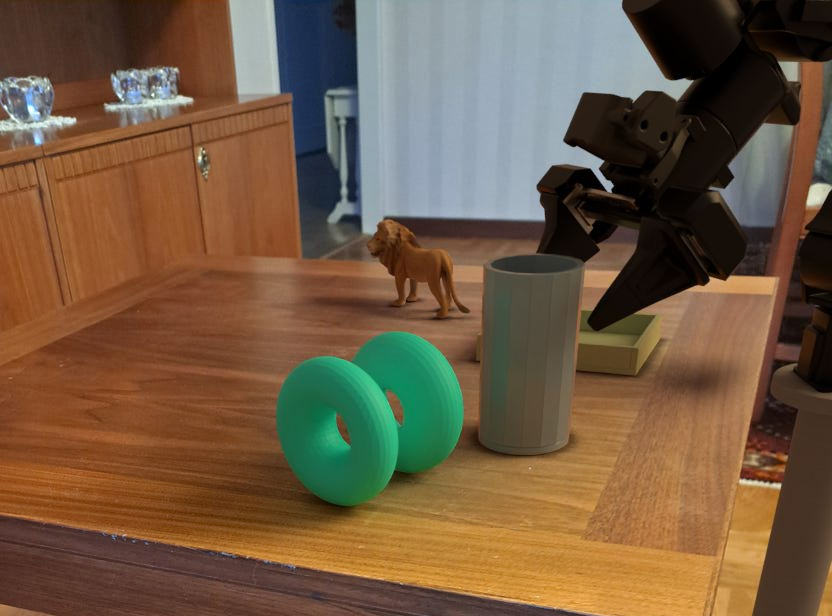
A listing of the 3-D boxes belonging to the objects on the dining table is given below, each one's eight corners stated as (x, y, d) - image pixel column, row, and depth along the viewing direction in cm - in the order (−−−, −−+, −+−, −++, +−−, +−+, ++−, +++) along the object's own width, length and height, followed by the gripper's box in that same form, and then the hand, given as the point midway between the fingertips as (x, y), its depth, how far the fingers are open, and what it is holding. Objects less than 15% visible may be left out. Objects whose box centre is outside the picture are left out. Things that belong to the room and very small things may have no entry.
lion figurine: (361, 302, 112) (359, 221, 107) (393, 294, 115) (392, 214, 110) (454, 323, 103) (456, 234, 98) (486, 313, 106) (489, 227, 101)
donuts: (470, 479, 67) (474, 339, 62) (378, 529, 61) (374, 378, 56) (366, 448, 73) (361, 317, 68) (273, 490, 67) (260, 350, 62)
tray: (659, 339, 95) (663, 314, 93) (635, 375, 85) (639, 348, 84) (513, 328, 100) (514, 303, 99) (476, 360, 91) (476, 334, 90)
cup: (559, 421, 77) (573, 251, 70) (576, 453, 71) (594, 272, 64) (473, 424, 77) (479, 255, 70) (483, 457, 71) (490, 276, 64)
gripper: (568, 41, 69) (431, 218, 72) (746, 39, 54) (565, 262, 57) (644, 153, 76) (515, 311, 78) (820, 178, 61) (654, 372, 64)
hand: (555, 312), depth 69 cm, fingers open, 9 cm apart
